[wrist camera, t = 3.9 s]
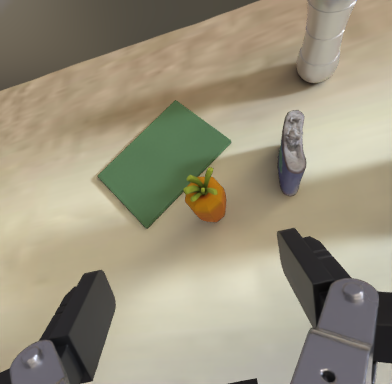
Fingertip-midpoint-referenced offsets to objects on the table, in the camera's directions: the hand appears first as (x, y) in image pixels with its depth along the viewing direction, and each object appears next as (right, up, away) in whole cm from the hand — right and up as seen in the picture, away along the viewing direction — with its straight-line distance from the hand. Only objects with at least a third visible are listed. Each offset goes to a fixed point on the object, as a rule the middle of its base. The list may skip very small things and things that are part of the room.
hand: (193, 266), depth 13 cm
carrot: (+3, 0, +31) cm, 31 cm away
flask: (+14, +7, +31) cm, 35 cm away
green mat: (-6, +9, +36) cm, 38 cm away
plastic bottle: (+21, +24, +36) cm, 48 cm away
